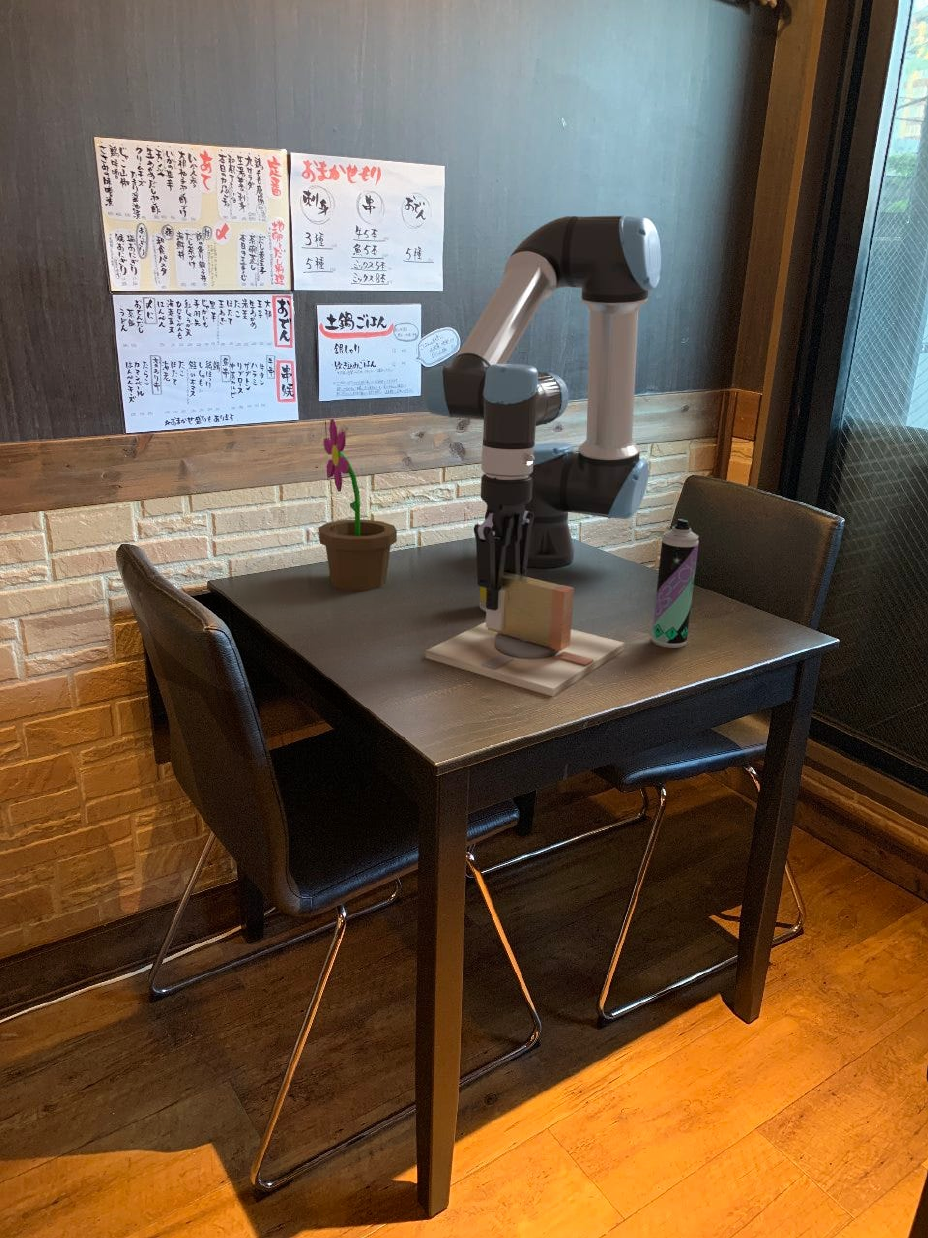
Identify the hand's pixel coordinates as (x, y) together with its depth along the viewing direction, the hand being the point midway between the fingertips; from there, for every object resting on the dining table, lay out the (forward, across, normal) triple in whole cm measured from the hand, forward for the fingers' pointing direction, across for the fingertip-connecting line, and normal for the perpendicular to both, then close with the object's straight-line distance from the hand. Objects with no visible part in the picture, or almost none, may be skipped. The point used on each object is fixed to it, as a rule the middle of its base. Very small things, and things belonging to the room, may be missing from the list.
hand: (500, 624), depth 144 cm
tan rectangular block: (+1, 0, -5) cm, 5 cm away
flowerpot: (+4, +10, +38) cm, 39 cm away
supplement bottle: (+4, +14, +10) cm, 18 cm away
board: (+4, 0, -5) cm, 6 cm away
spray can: (+4, +19, -20) cm, 28 cm away
